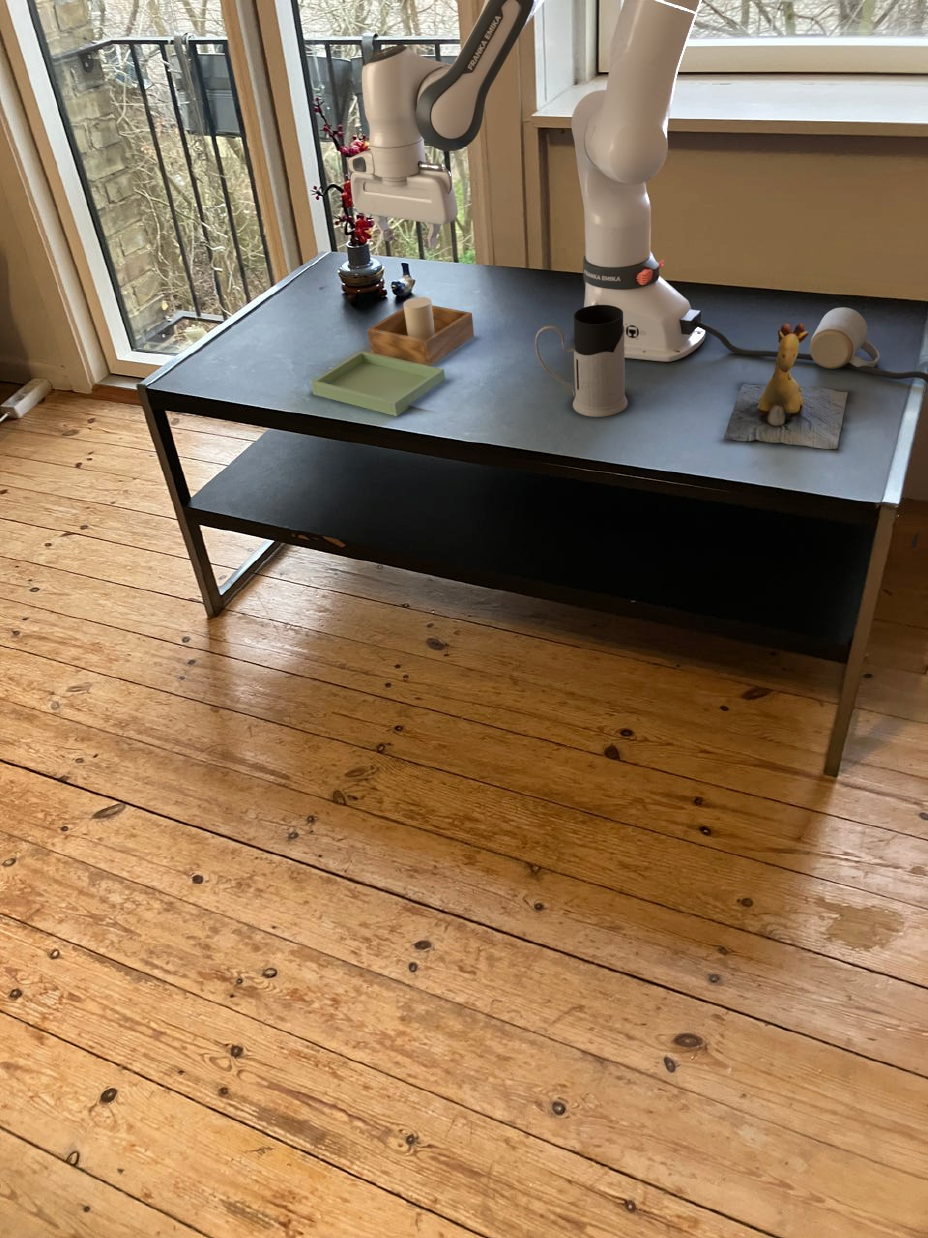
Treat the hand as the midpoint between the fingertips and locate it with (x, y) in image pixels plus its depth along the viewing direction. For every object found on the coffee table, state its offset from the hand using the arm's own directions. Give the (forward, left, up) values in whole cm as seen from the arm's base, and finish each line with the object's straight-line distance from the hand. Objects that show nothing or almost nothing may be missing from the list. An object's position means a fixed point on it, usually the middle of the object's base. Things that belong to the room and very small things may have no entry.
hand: (409, 243), depth 179 cm
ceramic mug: (-69, -24, -19) cm, 76 cm away
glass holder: (-38, +7, -19) cm, 43 cm away
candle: (0, 0, -18) cm, 18 cm away
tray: (-3, +16, -19) cm, 25 cm away
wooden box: (0, 0, -19) cm, 19 cm away
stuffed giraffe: (-68, -3, -19) cm, 71 cm away
